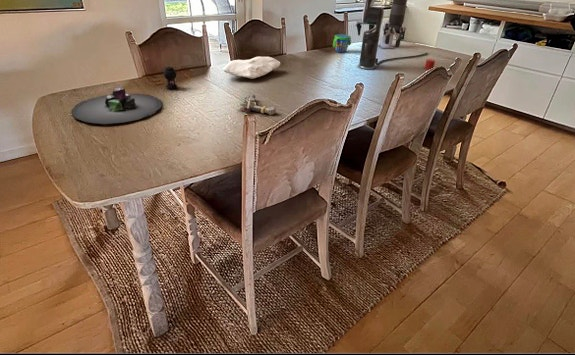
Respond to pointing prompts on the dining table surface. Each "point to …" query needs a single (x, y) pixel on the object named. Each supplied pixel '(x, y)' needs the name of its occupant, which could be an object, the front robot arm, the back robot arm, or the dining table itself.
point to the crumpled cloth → (252, 67)
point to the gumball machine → (170, 77)
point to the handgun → (255, 106)
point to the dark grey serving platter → (116, 108)
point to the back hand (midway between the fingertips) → (363, 35)
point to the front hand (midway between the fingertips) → (391, 45)
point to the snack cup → (341, 42)
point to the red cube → (429, 64)
